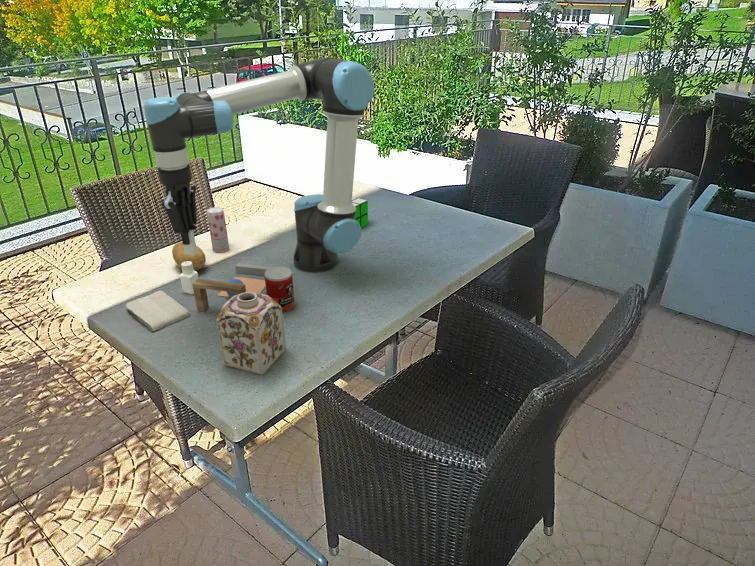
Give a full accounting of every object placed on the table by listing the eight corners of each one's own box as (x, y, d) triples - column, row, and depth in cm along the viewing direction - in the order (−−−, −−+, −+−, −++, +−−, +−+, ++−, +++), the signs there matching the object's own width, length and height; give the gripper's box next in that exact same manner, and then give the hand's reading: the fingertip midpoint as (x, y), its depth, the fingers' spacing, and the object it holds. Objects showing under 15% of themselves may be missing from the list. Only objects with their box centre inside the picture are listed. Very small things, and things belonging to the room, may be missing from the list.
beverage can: (217, 254, 188) (211, 214, 180) (210, 249, 191) (203, 209, 184) (232, 249, 191) (226, 210, 184) (224, 244, 195) (218, 205, 187)
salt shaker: (193, 295, 163) (187, 267, 159) (182, 293, 164) (176, 265, 160) (201, 289, 167) (196, 261, 162) (190, 286, 168) (185, 259, 163)
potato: (187, 280, 172) (183, 257, 168) (168, 265, 180) (163, 243, 177) (215, 270, 177) (212, 248, 174) (195, 256, 186) (191, 235, 182)
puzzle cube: (348, 219, 216) (347, 195, 211) (368, 224, 211) (368, 200, 206) (332, 227, 209) (331, 202, 204) (352, 233, 204) (352, 208, 199)
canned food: (283, 315, 153) (279, 281, 148) (262, 307, 157) (258, 274, 152) (300, 303, 159) (297, 270, 154) (279, 296, 163) (276, 263, 157)
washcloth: (161, 295, 164) (159, 286, 163) (192, 317, 154) (191, 308, 152) (123, 310, 157) (120, 301, 155) (153, 334, 146) (150, 325, 144)
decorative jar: (222, 365, 133) (211, 303, 124) (248, 340, 143) (239, 280, 134) (264, 376, 130) (255, 313, 121) (288, 349, 139) (282, 289, 130)
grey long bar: (279, 274, 175) (278, 267, 174) (276, 277, 173) (275, 270, 172) (239, 269, 178) (238, 263, 176) (236, 272, 176) (235, 265, 175)
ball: (242, 301, 161) (248, 289, 165) (237, 288, 157) (244, 275, 161) (225, 299, 162) (232, 287, 166) (220, 286, 158) (227, 274, 162)
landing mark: (270, 281, 171) (270, 280, 171) (254, 300, 161) (254, 299, 160) (235, 277, 173) (234, 276, 173) (217, 295, 163) (217, 295, 163)
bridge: (202, 306, 158) (197, 278, 153) (248, 312, 155) (245, 284, 150) (197, 311, 155) (192, 283, 151) (244, 317, 152) (240, 289, 148)
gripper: (172, 157, 136) (190, 242, 148) (144, 173, 125) (165, 263, 136) (200, 158, 135) (215, 244, 146) (173, 175, 124) (192, 266, 135)
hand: (191, 253), depth 141 cm, fingers closed
